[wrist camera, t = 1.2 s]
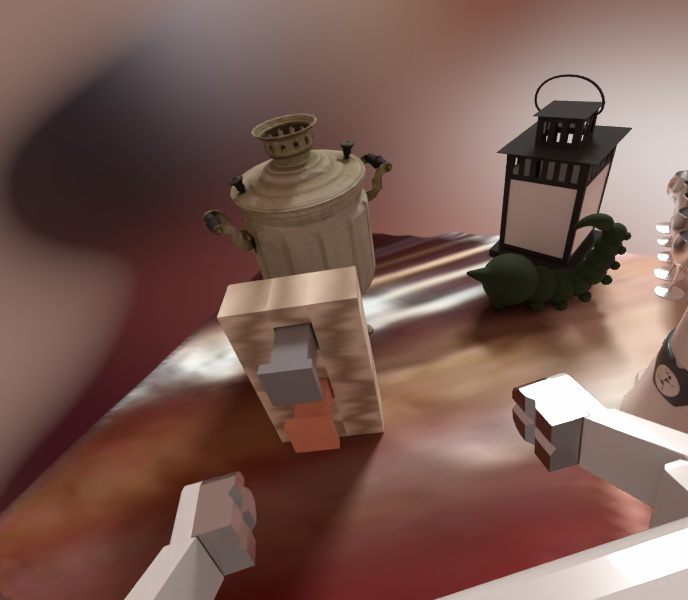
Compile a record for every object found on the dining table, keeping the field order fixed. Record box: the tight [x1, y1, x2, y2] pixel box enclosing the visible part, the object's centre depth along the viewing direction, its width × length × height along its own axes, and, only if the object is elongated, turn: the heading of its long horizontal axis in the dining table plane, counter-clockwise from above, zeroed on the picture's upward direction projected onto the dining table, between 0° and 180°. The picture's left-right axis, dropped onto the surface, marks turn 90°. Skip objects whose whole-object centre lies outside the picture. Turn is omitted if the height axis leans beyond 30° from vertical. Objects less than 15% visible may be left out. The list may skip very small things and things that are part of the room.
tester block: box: [217, 266, 384, 443], centre depth 54 cm, size 16×6×27 cm, turn 90°
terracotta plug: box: [284, 377, 340, 453], centre depth 51 cm, size 6×9×6 cm, turn 0°
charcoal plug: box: [257, 323, 323, 407], centre depth 44 cm, size 6×9×6 cm, turn 0°
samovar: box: [203, 114, 392, 334], centre depth 68 cm, size 30×26×40 cm
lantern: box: [489, 74, 632, 271], centre depth 76 cm, size 17×17×35 cm
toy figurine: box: [467, 213, 631, 311], centre depth 69 cm, size 9×19×25 cm
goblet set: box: [654, 170, 688, 300], centre depth 74 cm, size 28×6×13 cm, turn 149°
